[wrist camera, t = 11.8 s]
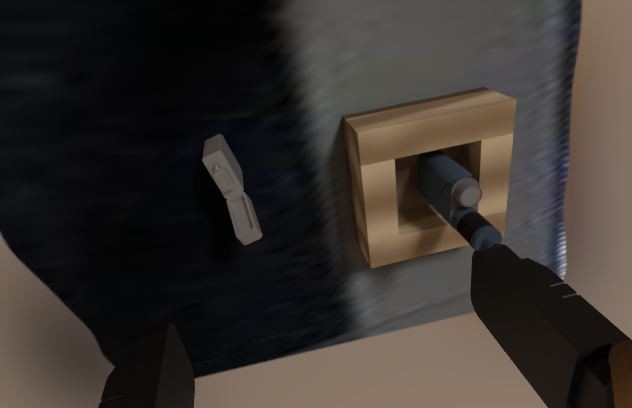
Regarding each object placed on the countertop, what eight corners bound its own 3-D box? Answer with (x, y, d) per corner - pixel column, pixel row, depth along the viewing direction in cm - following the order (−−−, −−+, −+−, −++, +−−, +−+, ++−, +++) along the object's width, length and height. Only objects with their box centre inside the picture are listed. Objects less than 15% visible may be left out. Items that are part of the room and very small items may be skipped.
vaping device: (415, 196, 42) (477, 265, 32) (415, 148, 40) (483, 206, 29) (439, 191, 43) (508, 258, 32) (441, 144, 40) (516, 199, 30)
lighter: (203, 141, 37) (198, 177, 30) (221, 133, 37) (220, 167, 30) (240, 204, 40) (244, 249, 33) (256, 196, 40) (263, 240, 33)
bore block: (342, 116, 38) (357, 132, 34) (484, 87, 39) (516, 99, 35) (356, 241, 45) (371, 268, 40) (477, 212, 46) (503, 236, 42)
